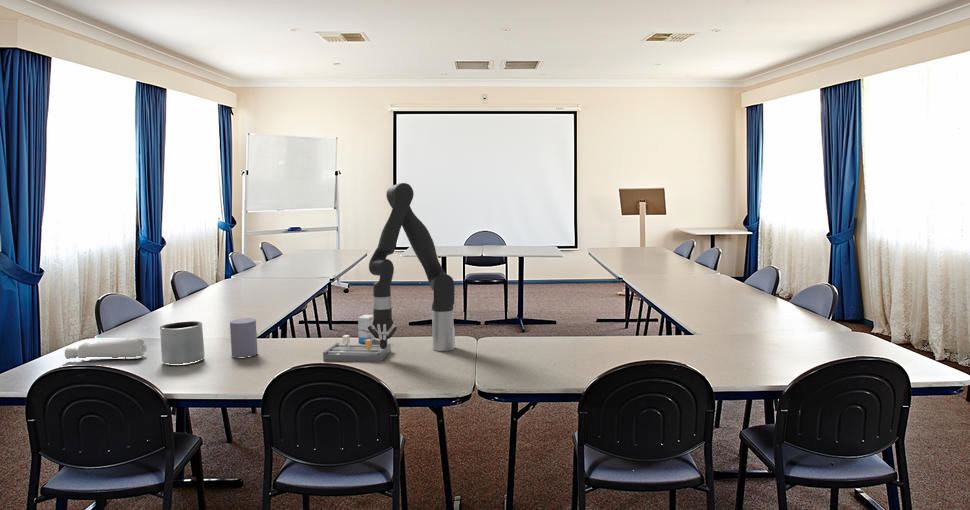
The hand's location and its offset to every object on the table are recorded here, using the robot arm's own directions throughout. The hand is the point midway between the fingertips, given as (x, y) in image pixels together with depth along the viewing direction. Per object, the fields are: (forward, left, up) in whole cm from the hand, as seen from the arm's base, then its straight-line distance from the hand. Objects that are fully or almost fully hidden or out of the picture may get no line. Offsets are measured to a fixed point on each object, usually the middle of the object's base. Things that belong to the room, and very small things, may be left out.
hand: (383, 348), depth 265 cm
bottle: (+117, +9, -5) cm, 118 cm away
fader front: (+6, 0, -2) cm, 6 cm away
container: (+61, -2, -5) cm, 61 cm away
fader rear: (+18, -7, -1) cm, 20 cm away
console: (+12, -4, -4) cm, 14 cm away
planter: (+82, +9, -5) cm, 83 cm away
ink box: (+16, -30, -5) cm, 34 cm away
